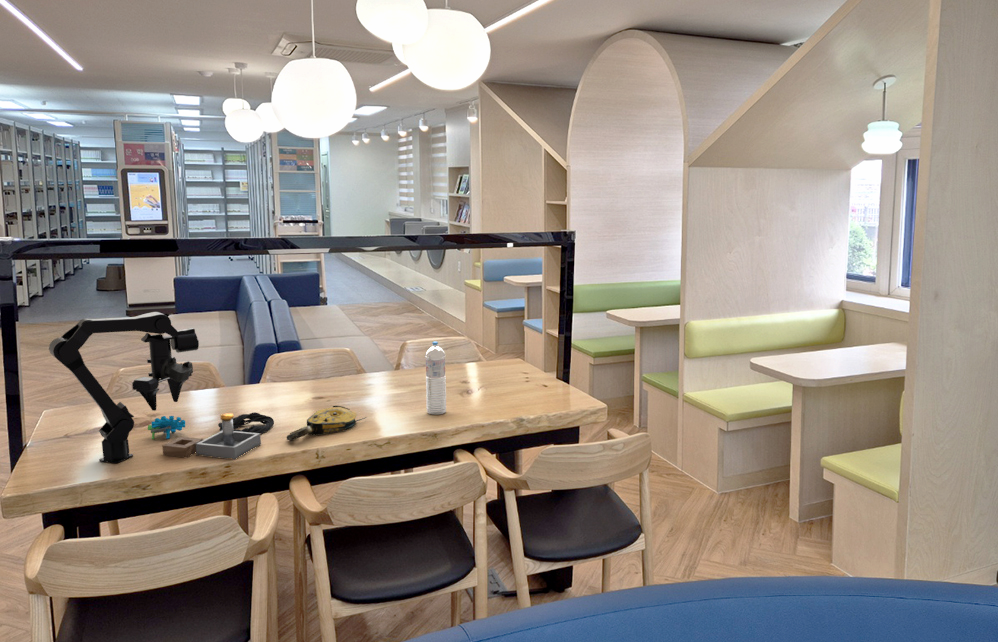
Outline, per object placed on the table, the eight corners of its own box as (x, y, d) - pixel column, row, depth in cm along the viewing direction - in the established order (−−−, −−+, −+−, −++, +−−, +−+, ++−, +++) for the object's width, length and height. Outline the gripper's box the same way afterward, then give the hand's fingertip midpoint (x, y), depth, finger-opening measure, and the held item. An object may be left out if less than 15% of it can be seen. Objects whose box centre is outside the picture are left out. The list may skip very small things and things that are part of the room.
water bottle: (431, 408, 261) (429, 339, 256) (449, 410, 259) (448, 340, 254) (423, 414, 254) (421, 343, 250) (441, 416, 252) (440, 344, 248)
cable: (269, 421, 248) (268, 409, 248) (281, 432, 237) (280, 419, 236) (215, 430, 239) (214, 417, 238) (225, 442, 228) (224, 429, 227)
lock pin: (230, 449, 218) (228, 417, 216) (220, 448, 219) (217, 416, 217) (238, 445, 221) (235, 413, 220) (228, 444, 222) (225, 412, 221)
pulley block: (272, 421, 227) (338, 397, 253) (270, 438, 229) (337, 413, 254) (305, 435, 221) (370, 409, 246) (304, 452, 222) (369, 425, 248)
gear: (190, 425, 238) (179, 411, 229) (189, 442, 235) (178, 428, 226) (154, 432, 236) (142, 417, 228) (153, 448, 233) (141, 435, 225)
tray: (235, 459, 212) (234, 447, 212) (196, 455, 216) (195, 443, 215) (261, 444, 225) (260, 433, 224) (224, 440, 228) (223, 429, 228)
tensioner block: (186, 457, 214) (185, 447, 213) (163, 455, 216) (162, 445, 215) (204, 448, 221) (203, 438, 221) (181, 446, 224) (180, 436, 223)
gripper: (161, 363, 206) (166, 417, 209) (204, 349, 224) (208, 399, 227) (128, 361, 209) (133, 414, 212) (173, 347, 227) (177, 396, 230)
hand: (165, 406), depth 220 cm, fingers open, 9 cm apart
